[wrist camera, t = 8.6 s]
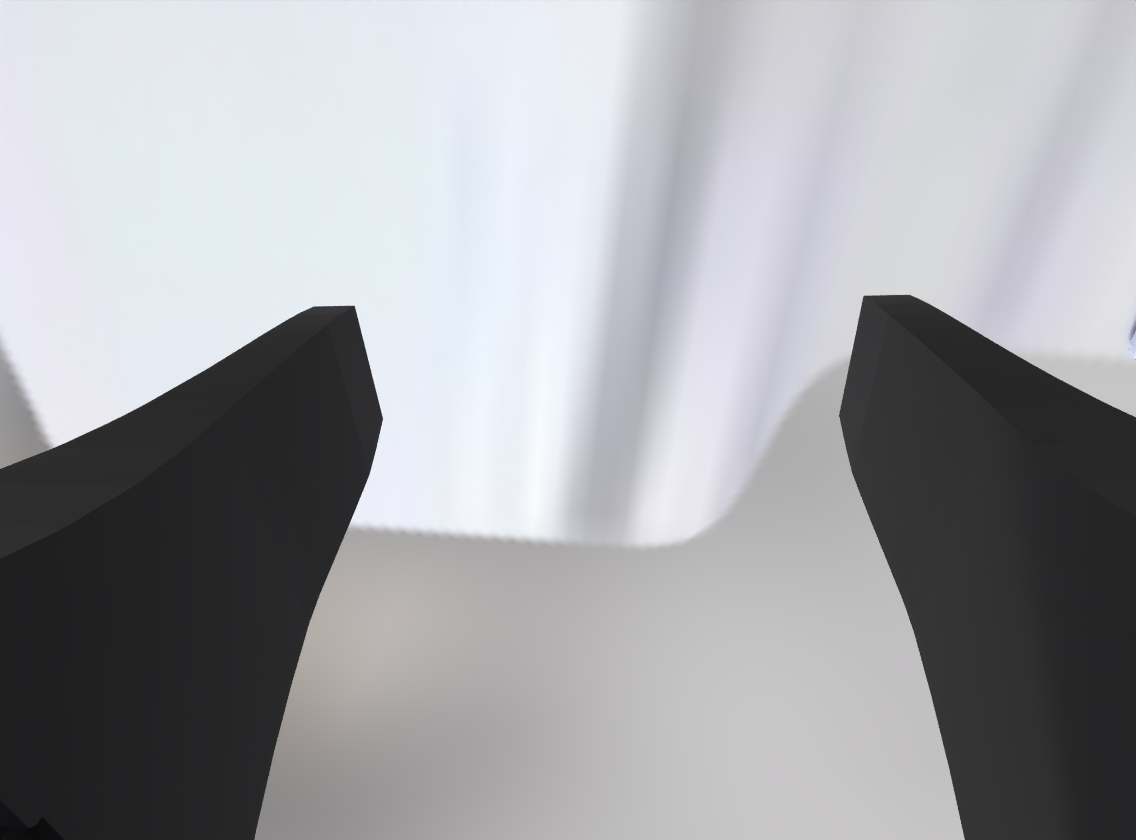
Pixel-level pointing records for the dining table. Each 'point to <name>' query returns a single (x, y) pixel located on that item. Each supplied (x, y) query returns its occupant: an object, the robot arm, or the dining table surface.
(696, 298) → the dining table surface
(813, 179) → the dining table surface
